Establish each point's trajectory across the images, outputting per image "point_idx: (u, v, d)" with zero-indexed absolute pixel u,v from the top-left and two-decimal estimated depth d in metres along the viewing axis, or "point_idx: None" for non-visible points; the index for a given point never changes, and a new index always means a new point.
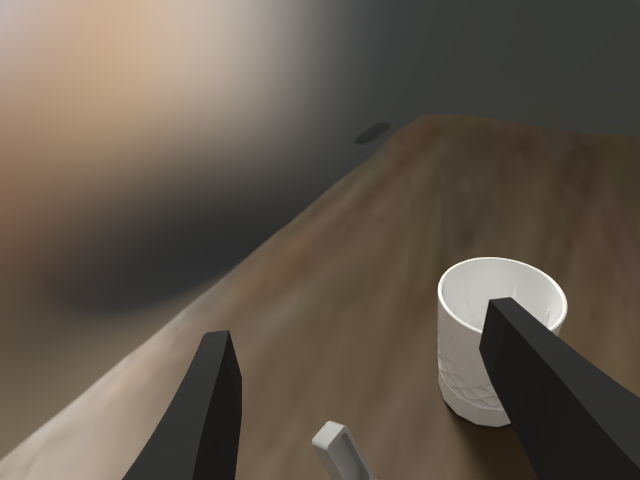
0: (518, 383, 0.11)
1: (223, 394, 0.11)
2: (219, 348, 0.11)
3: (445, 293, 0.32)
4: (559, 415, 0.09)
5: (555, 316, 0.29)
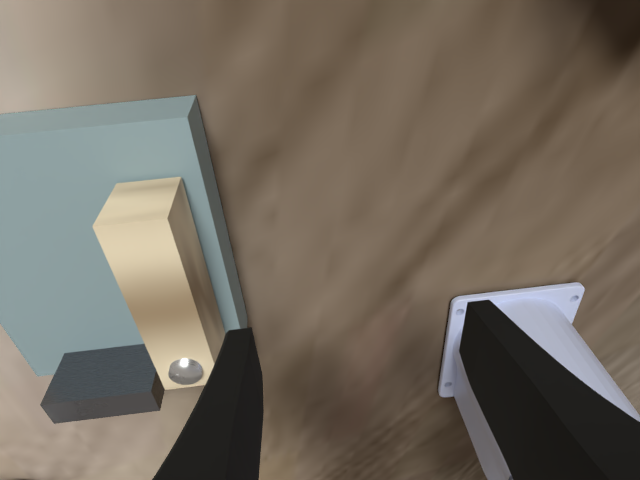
0: (495, 386, 0.11)
1: (248, 391, 0.11)
2: (243, 345, 0.11)
3: None
4: (532, 418, 0.09)
5: None
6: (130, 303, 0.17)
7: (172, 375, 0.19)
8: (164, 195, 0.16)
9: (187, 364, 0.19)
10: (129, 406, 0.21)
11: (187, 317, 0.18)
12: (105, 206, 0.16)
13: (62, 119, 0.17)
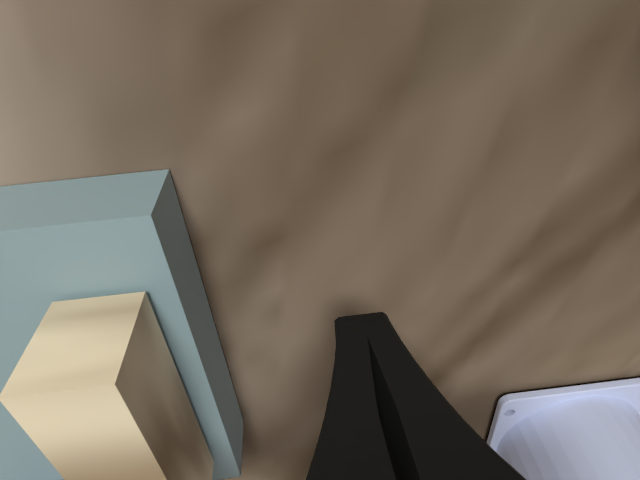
0: (377, 401, 0.11)
1: None
2: (360, 331, 0.11)
3: None
4: (396, 436, 0.09)
5: None
6: (69, 478, 0.12)
7: None
8: (116, 331, 0.11)
9: None
10: None
11: None
12: (27, 351, 0.11)
13: None
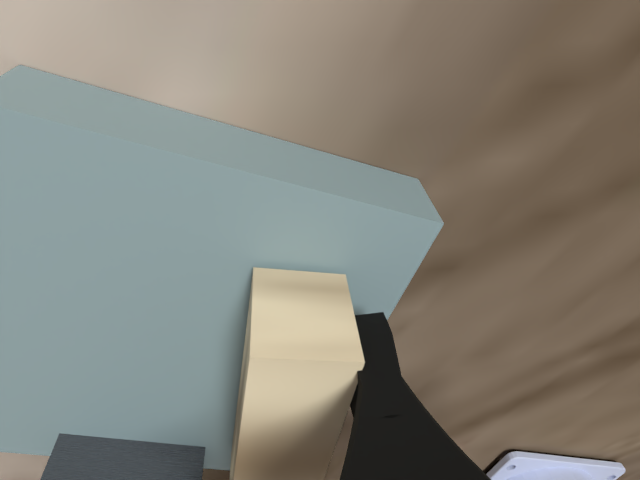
0: None
1: None
2: (384, 328, 0.11)
3: None
4: None
5: None
6: (242, 451, 0.11)
7: None
8: (338, 309, 0.11)
9: None
10: None
11: (309, 473, 0.12)
12: (254, 313, 0.10)
13: (264, 156, 0.11)
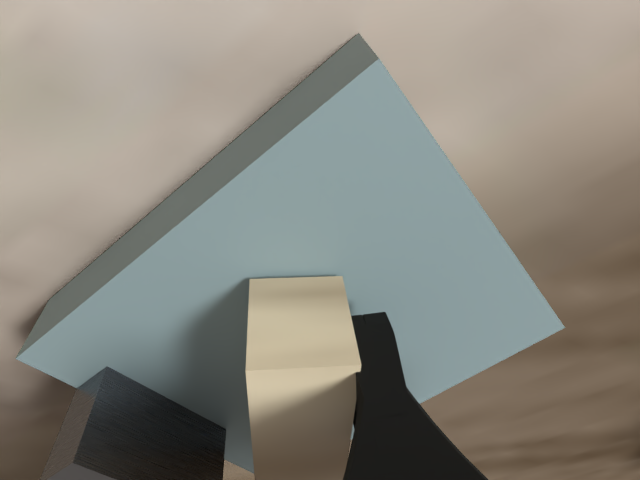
0: None
1: None
2: (387, 328, 0.11)
3: None
4: None
5: None
6: (258, 459, 0.12)
7: None
8: (334, 312, 0.11)
9: None
10: None
11: (329, 475, 0.12)
12: (250, 326, 0.11)
13: None
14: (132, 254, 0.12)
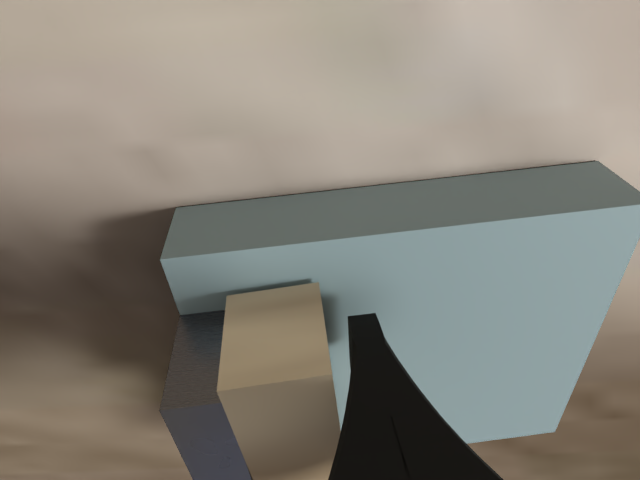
0: None
1: None
2: (376, 329, 0.11)
3: None
4: None
5: None
6: (255, 472, 0.12)
7: None
8: (308, 321, 0.11)
9: None
10: None
11: None
12: (224, 344, 0.11)
13: None
14: (356, 226, 0.12)
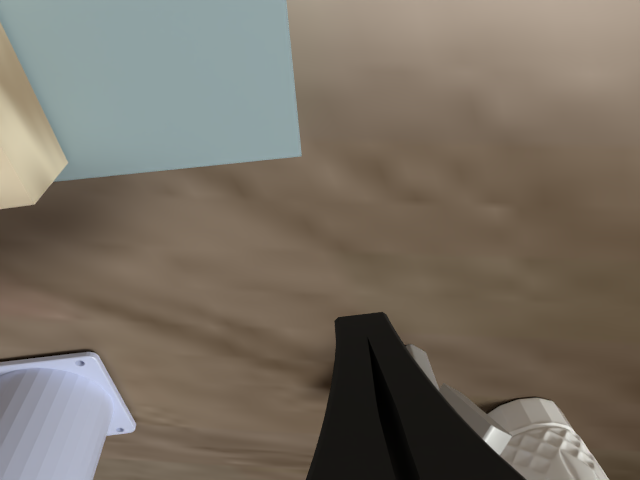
0: (378, 401, 0.11)
1: None
2: (360, 331, 0.11)
3: None
4: (396, 436, 0.09)
5: None
6: None
7: None
8: None
9: None
10: None
11: None
12: None
13: None
14: None
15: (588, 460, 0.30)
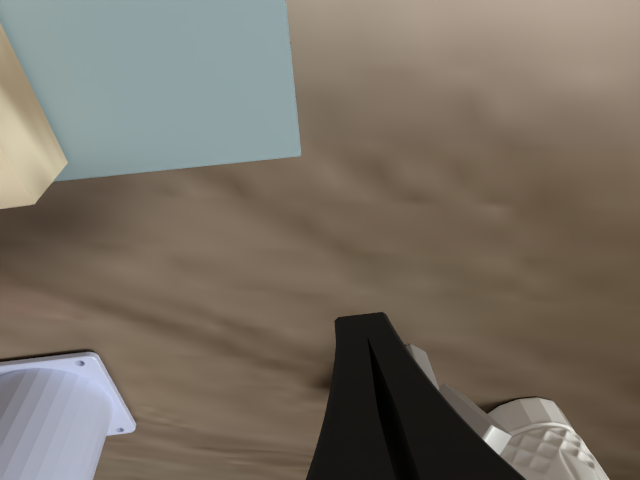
0: (378, 401, 0.11)
1: None
2: (360, 331, 0.11)
3: None
4: (396, 436, 0.09)
5: None
6: None
7: None
8: None
9: None
10: None
11: None
12: None
13: None
14: None
15: (588, 460, 0.30)
